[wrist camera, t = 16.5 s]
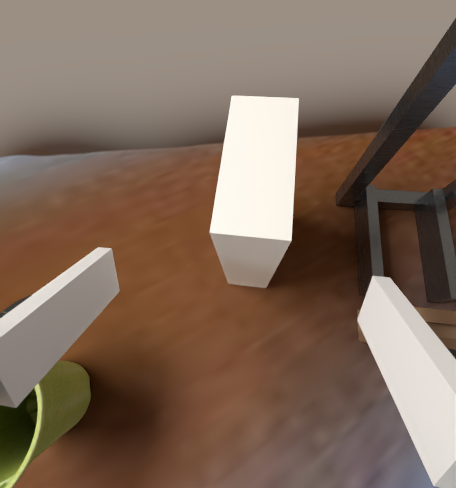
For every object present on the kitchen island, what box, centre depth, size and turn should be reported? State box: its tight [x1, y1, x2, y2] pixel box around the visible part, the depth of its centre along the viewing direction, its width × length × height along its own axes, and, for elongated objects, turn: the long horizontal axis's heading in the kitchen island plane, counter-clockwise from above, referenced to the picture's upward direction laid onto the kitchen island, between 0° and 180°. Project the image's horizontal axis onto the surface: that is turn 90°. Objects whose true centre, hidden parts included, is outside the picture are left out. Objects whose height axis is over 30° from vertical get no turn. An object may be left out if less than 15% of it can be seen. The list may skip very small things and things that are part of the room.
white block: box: [210, 96, 299, 288], centre depth 21 cm, size 4×9×15 cm, turn 173°
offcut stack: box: [357, 307, 456, 350], centre depth 21 cm, size 8×3×6 cm, turn 84°
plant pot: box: [0, 361, 91, 488], centre depth 20 cm, size 9×9×9 cm
